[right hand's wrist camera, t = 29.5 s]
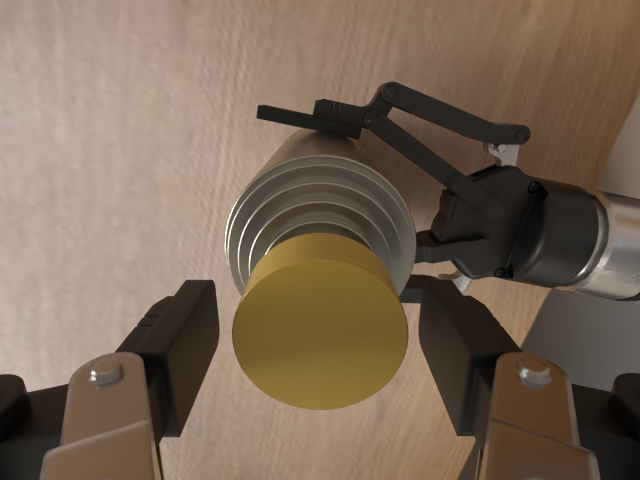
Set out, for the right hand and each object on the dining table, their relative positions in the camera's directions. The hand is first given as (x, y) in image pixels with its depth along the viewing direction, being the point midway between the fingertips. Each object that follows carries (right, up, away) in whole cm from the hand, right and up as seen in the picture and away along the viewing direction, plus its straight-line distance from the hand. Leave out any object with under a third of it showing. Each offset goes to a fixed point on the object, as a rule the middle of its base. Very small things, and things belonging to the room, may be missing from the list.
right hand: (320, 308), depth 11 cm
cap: (0, 0, -1) cm, 1 cm away
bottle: (0, +8, +21) cm, 22 cm away
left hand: (-5, +6, +15) cm, 17 cm away
